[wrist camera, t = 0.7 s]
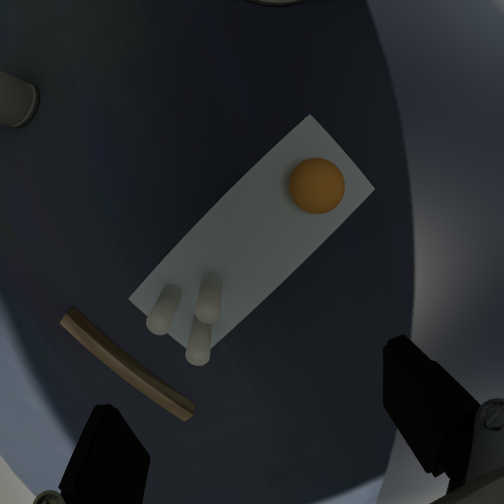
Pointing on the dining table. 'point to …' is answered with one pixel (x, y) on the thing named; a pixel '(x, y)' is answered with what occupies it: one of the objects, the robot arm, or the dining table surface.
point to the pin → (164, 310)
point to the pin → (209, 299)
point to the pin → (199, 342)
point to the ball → (316, 185)
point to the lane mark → (253, 234)
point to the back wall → (126, 365)
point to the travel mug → (17, 101)
